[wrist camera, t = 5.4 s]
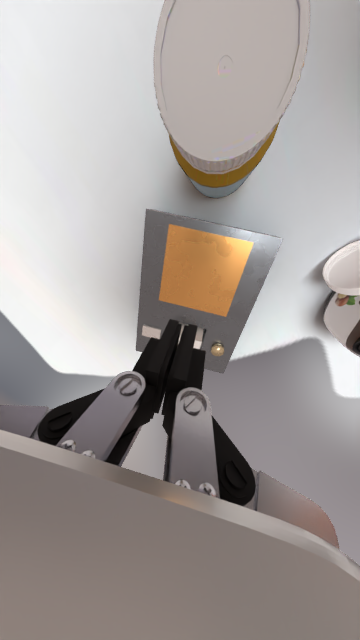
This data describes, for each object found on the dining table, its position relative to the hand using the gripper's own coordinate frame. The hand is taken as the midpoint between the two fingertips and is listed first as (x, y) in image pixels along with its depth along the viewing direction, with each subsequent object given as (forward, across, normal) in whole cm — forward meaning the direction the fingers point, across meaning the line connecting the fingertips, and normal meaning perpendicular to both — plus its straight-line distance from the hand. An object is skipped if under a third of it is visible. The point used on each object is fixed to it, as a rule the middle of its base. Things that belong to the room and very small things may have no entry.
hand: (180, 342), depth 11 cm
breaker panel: (+18, 0, +6) cm, 19 cm away
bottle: (+19, +1, -11) cm, 22 cm away
